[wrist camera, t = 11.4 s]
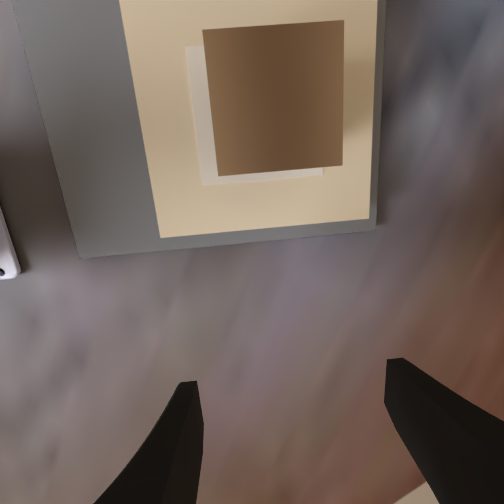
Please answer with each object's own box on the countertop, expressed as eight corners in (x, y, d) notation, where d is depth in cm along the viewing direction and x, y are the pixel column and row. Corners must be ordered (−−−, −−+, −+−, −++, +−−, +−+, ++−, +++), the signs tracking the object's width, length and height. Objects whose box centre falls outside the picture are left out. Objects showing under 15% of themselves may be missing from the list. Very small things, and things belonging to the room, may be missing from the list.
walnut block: (221, 162, 16) (218, 176, 11) (211, 69, 15) (202, 29, 9) (302, 155, 16) (342, 165, 11) (300, 63, 15) (344, 20, 9)
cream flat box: (86, 253, 21) (58, 275, 18) (17, -18, 16) (-39, -58, 13) (369, 226, 22) (395, 243, 18) (379, -40, 17) (417, -84, 14)
